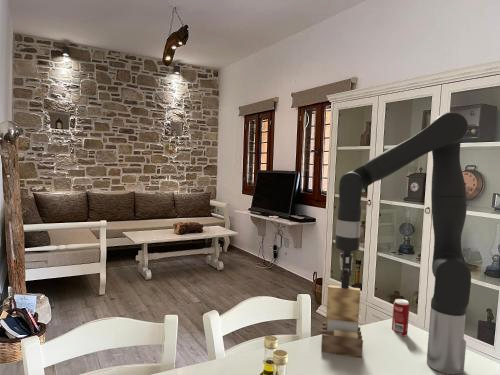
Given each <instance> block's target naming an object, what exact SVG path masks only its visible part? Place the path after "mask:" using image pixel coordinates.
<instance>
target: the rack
mask: <svg viewBox="0 0 500 375" xmlns="http://www.w3.org/2000/svg"><path fill="white" fill-rule="evenodd" d="M357 334H358V339H354V338H347V337H340V336H334V332H333V331H327V327H326V322H324V321H323V322H322V331H321V348H320V349H321V351H320V352H321V353H324V354H331V355H339V356H345V357H351V358H356V359H357V358H358V359H363V346H364V345H363V343H364V340H363V335H362V331H361V327H360V326H358V331H357Z"/></svg>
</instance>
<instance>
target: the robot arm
mask: <svg viewBox="0 0 500 375" xmlns="http://www.w3.org/2000/svg"><path fill="white" fill-rule="evenodd" d="M468 130H469V123H468V120H467V119H466V118H465V116H464V115H462V114H460V113H458V112H455V111H454V112H443V113H442V114H440V115H438V116H437V117H436V118H434V120H433V121H432V122H431V123H430V124H429V125H428V126H426V127H425V128H423V129H422V130H421V131H419V132H417V134H414V135H413V136H411V137H410V138H408V139H406V140H405V141H403V142H401V143H398V144H397V145H395V146H393V147H391V148H389V149H387V150H385V151H383V152H381V153H379V154H378V155H376V156H374V157H372V158H371V159H369V160H367V162H366V163H364V164H362V165H361V166H359V167H356V168H355V169H353V170H351V171H349V172H345V173H344V174H343V175H342V176H341V177H340V179H339V184H338V186H339V187H338V200H339V201H338V203H339V204H338V211H337V221H336V228H335V240H334V242H335V243H334V247H335V249H337V250H339V251H341V253H339V265H340V281H341V283H340V286H341V287H342V288H344V289H348V288H349V287H350V278H351V276H352V270H353V262H354V261H353V260H354V256H353V254H351V253H352V252H357V251H359V250H360V241H361V229H362V228H361V219H362V218H361V217H362V215H361V214H362V205H361V202H362V192H363V190H364V189H365V188H367V187H369V186H370V185H372V184H374V183H375V182H379V181H381V180H383V179H385V178H387V177H389V176H391V175H392V174H394V173H396V172H398V171H399V170H401V169H402V168H405V167H406V166H407V165H409V164H410V163H412V162H414V161H416V160H417V159H418V158H421V157H422V156H424V155H426V154H428V153H430V152H431V154H432V172H431V173H432V174H431V190H430V191H431V193H430V194H431V196H430V197H431V203H430V204H431V218H432V220H431V221H432V227H433V236H434V237H433V238H434V239H433V240H434V241H433V243H434V244H433V255H432V263H431V264H432V265H431V270H432V274H433V277H434V288H433V296H432V298H431V301H430V309H429V310H430V311H429V322H428V323H429V324H428V326H429V327H428V328H429V329H428V339H427V341H428V342H427V352H426V364H427V366H429V367H430V368H431V369H433V370H435V371H437V372H439V373H442V374H447V375H459V374H463V375H464V373H465V362H466V349H467V341H466V340H465V328H466V314H467V308H468V306H469V303H470V295H471V285H472V273H471V269H470V268H469V266H468V265H467V264H466V263H465V261H464V258H463V250H462V236H463V235H462V234H463V230H464V225H465V222H466V217H467V209H468V208H467V186H466V183H465V177H464V173H463V171H462V170H463V169H462V165H461V157H460V156H461V144H462V143H461V141H462V140H463V139H464V138H465V136H466V135H467V133H468Z"/></svg>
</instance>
